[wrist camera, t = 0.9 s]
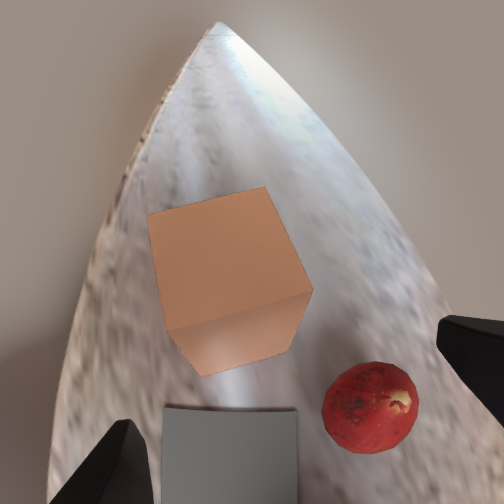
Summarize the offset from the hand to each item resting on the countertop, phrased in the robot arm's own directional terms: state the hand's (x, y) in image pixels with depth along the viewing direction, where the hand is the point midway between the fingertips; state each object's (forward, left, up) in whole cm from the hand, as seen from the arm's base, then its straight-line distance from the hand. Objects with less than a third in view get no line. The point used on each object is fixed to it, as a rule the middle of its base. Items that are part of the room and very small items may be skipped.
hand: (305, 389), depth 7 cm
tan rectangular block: (+7, +3, -14) cm, 16 cm away
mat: (-4, +3, -14) cm, 15 cm away
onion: (0, -6, -14) cm, 15 cm away
